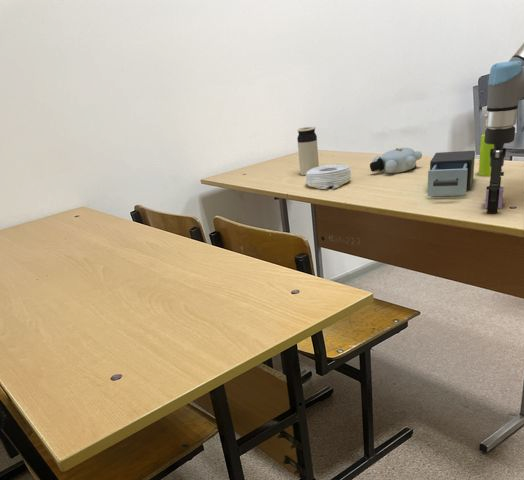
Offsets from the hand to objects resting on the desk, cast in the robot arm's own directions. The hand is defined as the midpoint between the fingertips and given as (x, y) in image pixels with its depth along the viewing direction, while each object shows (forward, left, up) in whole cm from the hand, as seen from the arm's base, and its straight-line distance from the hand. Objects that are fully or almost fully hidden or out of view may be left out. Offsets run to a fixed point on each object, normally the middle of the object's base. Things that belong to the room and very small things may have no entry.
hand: (493, 205), depth 153 cm
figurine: (+38, -53, 0) cm, 65 cm away
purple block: (0, 0, 0) cm, 0 cm away
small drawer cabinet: (+14, -26, 0) cm, 29 cm away
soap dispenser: (+3, -41, 0) cm, 41 cm away
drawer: (+14, -14, +1) cm, 20 cm away
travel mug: (+74, -55, 0) cm, 92 cm away
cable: (+60, -35, 0) cm, 69 cm away
